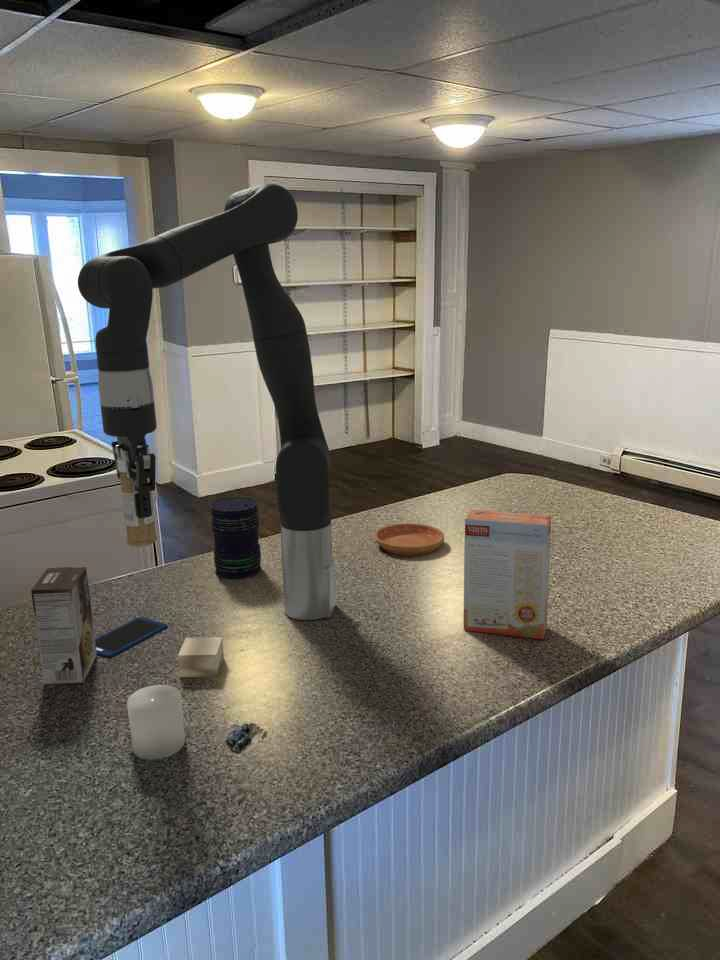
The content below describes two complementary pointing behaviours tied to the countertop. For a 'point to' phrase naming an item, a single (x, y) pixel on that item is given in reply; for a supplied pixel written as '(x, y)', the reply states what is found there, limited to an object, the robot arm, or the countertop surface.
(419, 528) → the saucer
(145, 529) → the sprinkles bottle
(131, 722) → the cream canister
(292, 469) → the robot arm
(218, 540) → the storage jar
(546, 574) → the cracker box
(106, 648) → the cell phone
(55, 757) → the countertop surface
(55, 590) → the coffee box
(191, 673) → the maple block
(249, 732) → the blueberries
